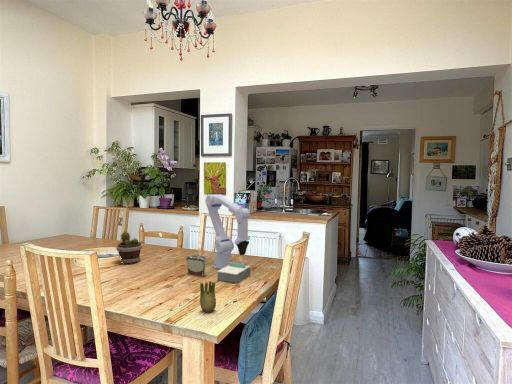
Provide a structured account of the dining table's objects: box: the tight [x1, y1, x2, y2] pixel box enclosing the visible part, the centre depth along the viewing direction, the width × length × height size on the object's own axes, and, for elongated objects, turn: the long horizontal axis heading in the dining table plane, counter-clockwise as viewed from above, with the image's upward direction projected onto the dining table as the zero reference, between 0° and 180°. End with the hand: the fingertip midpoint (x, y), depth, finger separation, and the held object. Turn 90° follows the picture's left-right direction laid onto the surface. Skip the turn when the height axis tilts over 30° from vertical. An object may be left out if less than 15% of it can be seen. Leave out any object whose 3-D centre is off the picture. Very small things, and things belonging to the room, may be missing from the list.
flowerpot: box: [115, 230, 143, 265], centre depth 197 cm, size 14×15×20 cm
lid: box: [217, 261, 251, 275], centre depth 170 cm, size 11×16×2 cm
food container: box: [185, 254, 207, 278], centre depth 175 cm, size 12×6×10 cm, turn 65°
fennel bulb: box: [199, 280, 217, 313], centre depth 129 cm, size 6×5×12 cm
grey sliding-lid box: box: [217, 266, 251, 285], centre depth 171 cm, size 11×16×4 cm
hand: (242, 254), depth 178 cm, fingers closed
